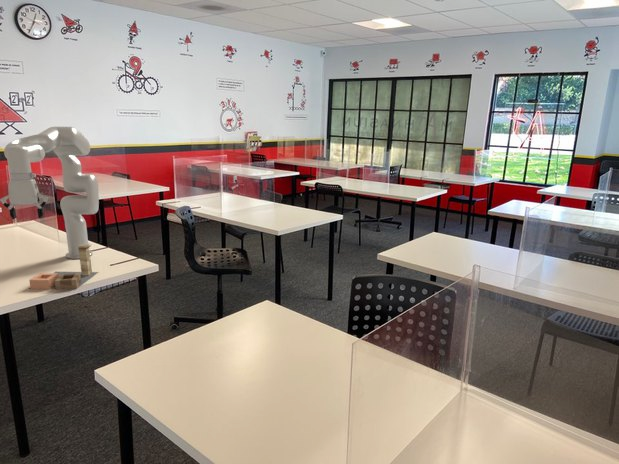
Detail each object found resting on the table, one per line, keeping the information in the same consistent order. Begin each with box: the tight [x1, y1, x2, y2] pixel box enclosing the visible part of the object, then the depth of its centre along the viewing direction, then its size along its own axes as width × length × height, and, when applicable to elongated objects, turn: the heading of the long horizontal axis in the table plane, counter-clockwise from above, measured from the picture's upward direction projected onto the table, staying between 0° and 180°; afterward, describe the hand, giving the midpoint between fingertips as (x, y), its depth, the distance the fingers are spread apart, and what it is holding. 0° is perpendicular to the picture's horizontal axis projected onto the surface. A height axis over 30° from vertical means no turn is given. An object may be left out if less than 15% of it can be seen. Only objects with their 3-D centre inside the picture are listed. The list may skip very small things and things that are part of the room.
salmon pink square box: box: [28, 272, 59, 290], centre depth 191 cm, size 8×8×4 cm
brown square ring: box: [55, 273, 81, 291], centre depth 191 cm, size 8×8×4 cm
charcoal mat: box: [28, 271, 100, 291], centre depth 198 cm, size 21×20×1 cm
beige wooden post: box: [78, 243, 93, 276], centre depth 203 cm, size 3×3×14 cm
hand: (27, 218), depth 185 cm, fingers open, 9 cm apart
